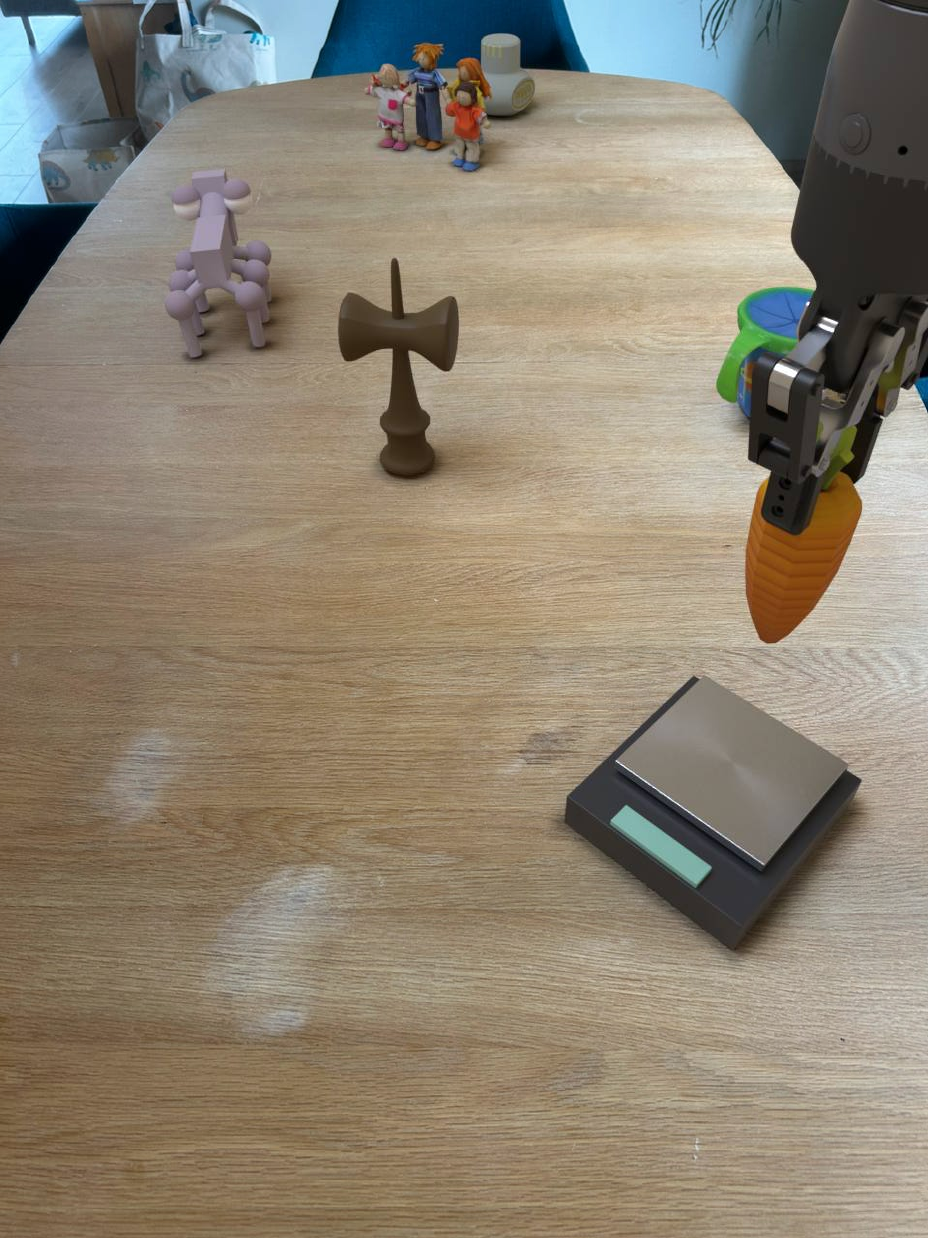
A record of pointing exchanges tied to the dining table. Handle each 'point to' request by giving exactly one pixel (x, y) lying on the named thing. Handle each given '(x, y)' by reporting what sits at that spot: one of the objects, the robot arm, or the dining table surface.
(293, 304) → the dining table surface
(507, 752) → the dining table surface
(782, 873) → the scale
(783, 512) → the robot arm
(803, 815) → the scale pan
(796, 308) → the snack cup
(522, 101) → the air freshener
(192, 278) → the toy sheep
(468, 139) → the doll family
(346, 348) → the kendama
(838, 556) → the carrot
